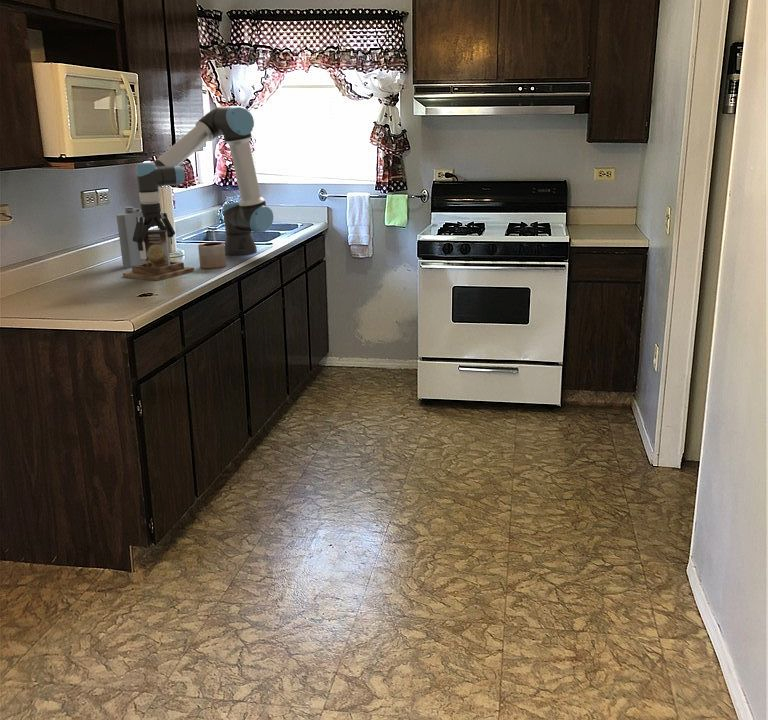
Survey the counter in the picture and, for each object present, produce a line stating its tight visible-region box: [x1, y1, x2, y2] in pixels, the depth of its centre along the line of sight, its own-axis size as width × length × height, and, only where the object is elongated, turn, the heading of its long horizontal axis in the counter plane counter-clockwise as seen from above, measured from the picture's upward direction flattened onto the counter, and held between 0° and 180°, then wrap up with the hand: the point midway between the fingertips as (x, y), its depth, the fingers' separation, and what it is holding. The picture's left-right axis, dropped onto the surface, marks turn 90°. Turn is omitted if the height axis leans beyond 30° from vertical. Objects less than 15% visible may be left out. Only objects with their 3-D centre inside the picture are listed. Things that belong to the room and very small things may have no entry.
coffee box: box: [144, 229, 171, 268], centre depth 325 cm, size 9×6×16 cm
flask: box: [115, 206, 146, 269], centre depth 347 cm, size 17×5×25 cm, turn 161°
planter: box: [197, 241, 227, 270], centre depth 337 cm, size 11×11×10 cm
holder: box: [122, 260, 195, 282], centre depth 326 cm, size 20×20×4 cm
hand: (156, 255), depth 325 cm, fingers open, 13 cm apart
